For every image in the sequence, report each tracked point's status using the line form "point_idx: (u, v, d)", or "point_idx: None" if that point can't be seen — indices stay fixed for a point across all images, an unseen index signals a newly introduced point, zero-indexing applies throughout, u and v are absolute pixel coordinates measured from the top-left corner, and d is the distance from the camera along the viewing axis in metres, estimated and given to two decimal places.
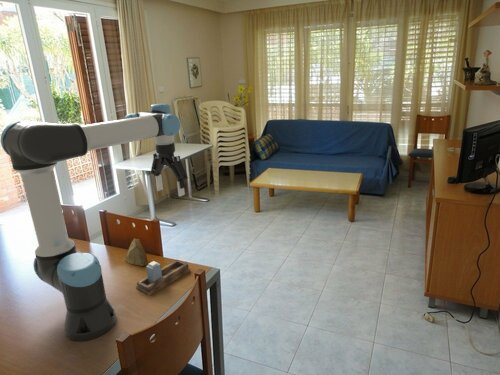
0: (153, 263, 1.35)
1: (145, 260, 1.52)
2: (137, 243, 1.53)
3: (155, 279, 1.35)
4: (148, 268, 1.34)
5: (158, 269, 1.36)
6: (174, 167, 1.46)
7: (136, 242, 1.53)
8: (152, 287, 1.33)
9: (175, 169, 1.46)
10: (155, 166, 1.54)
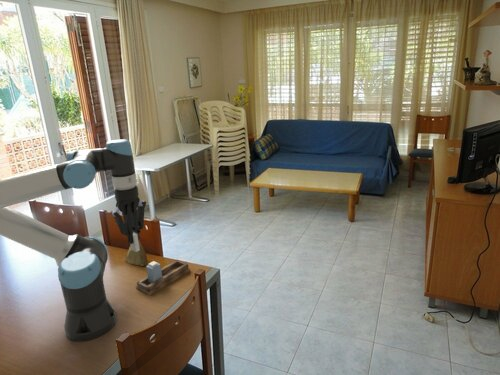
0: (153, 263, 1.35)
1: (145, 260, 1.52)
2: None
3: (155, 279, 1.35)
4: (148, 268, 1.34)
5: (158, 269, 1.36)
6: (124, 218, 1.23)
7: None
8: (152, 287, 1.33)
9: (125, 221, 1.23)
10: (138, 217, 1.27)
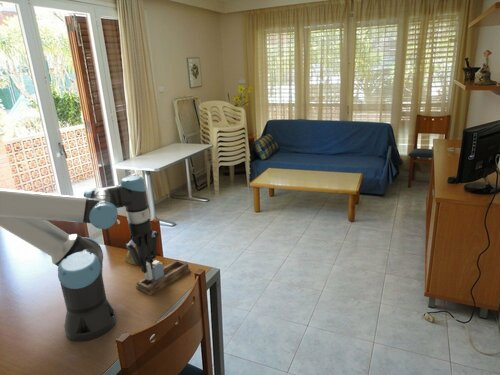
0: (155, 262, 1.36)
1: None
2: None
3: (157, 278, 1.36)
4: None
5: (160, 268, 1.36)
6: (138, 249, 1.29)
7: None
8: (152, 287, 1.33)
9: (138, 252, 1.30)
10: (151, 247, 1.33)
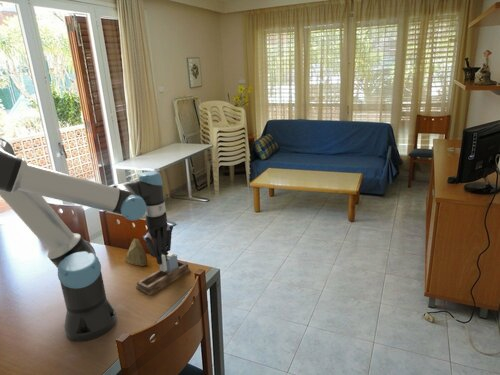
0: (170, 254, 1.41)
1: (145, 260, 1.52)
2: (137, 243, 1.53)
3: (172, 269, 1.41)
4: None
5: (175, 260, 1.42)
6: (154, 242, 1.35)
7: (136, 242, 1.53)
8: (152, 287, 1.33)
9: (154, 244, 1.35)
10: (165, 240, 1.39)
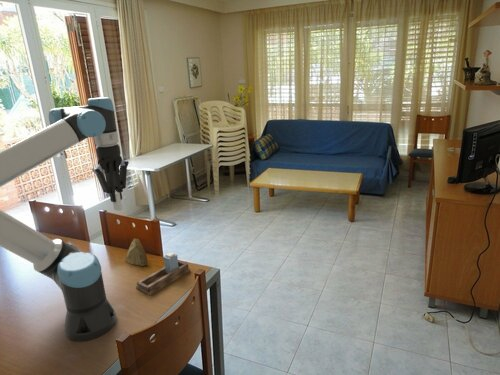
0: (170, 254, 1.41)
1: (145, 260, 1.52)
2: (137, 243, 1.53)
3: (172, 269, 1.41)
4: (165, 259, 1.41)
5: (175, 260, 1.42)
6: (107, 176, 1.25)
7: (136, 242, 1.53)
8: (152, 287, 1.33)
9: (107, 179, 1.25)
10: (120, 176, 1.29)
